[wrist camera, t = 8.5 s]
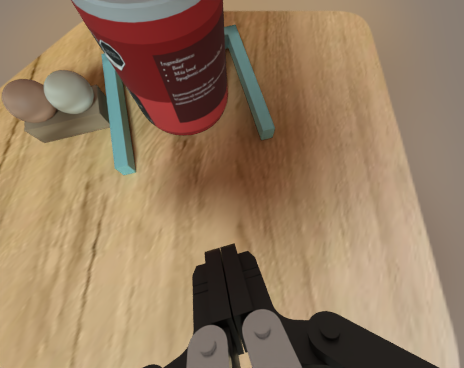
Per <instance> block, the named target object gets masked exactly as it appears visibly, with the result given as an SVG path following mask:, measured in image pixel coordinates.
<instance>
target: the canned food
mask: <svg viewBox="0 0 464 368" xmlns="http://www.w3.org/2000/svg"><path fill="white" fill-rule="evenodd" d="M71 1H72V3H73V5H74V6H75V8H76V9H77V11H78V12H79V14H80V16H81V17H82V19H83V21H84V22H85V24H86V26H87V27H88V29H89V30H90V32H91V33H92V35H93V36H94V38H95V40H96V41H97V43H98V44H99V46H100V47H101V49H102V50H103V52H104V53H105V55H106V57H107V58H108V60H109V61H110V63H111V64H112V66H113V67H114V69H115V70H116V72H117V74H118V75H119V77H120V78H121V80H122V81H123V83H124V84H125V86H126V87H127V89H128V91H129V92H130V94H131V95H132V97H133V98H134V100H135V101H136V103H137V104H138V106H139V108H140V109H141V111H142V112H143V114H144V115H145V117H146V118H147V119H148V120H149V121H150V122H151V123H152V124H154V125H155V126H156V127H158V128H159V129H161V130H163V131H165V132H167V133H171V134H175V135H193V134H197V133H200V132H203V131H205V130H207V129H208V128H210V127H211V126H213V125H214V124H215V123H216V122H217V121H218V120H219V119H220V117H221V115H222V114H223V111H224V109H225V106H226V103H227V97H228V93H227V73H226V54H225V34H224V14H223V0H71Z"/></svg>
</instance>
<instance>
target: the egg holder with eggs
mask: <svg viewBox="0 0 464 368" xmlns="http://www.w3.org/2000/svg"><path fill="white" fill-rule="evenodd" d="M2 101H3V104H4V106H5V107H6V109H7V110H8V111H9V112H10V113H11V114H12V115H13V116H15V117H16V118H18V119H20V120H22V121H25V132H27V133H29V134H30V135H32V136H34V137H35V138H37V139H39V140H40V141H42V142H44V143H47V142H51V141H55V140H59V139H63V138H67V137H72V136H76V135H80V134H84V133H88V132H92V131H96V130H101V129H105V128H109V127H110V122H109V114H108V105H107V97H106V96H105V95H104V93H103V92H102V91H101V90H100V88H99V87H98V86H97V85H93V86H90V84H89V83H88V82H87V80H86V79H85V78H83V77H82V76H81V75H79V74H77V73H75V72H72V71H68V70H59V71H55V72H53V73H51V74H50V75H49V76H48V77H47V78H46V80H45V82H44V85H42V84H40V83H38V82H36V81H33V80H28V79H19V80H14V81H12V82H10V83H8V84H7V85H6V86H5V88H4V89H3V92H2Z"/></svg>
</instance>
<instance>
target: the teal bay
mask: <svg viewBox="0 0 464 368" xmlns="http://www.w3.org/2000/svg"><path fill="white" fill-rule="evenodd" d="M224 34H225V49H226V48H229V51H230V53H231V56H232V59H233V62H234V65H235V67H236V70H237V73H238V76H239V79H240V82H241V84H242V87H243V90H244V93H245V96H246V98H247V101H248V104H249V107H250V110H251V112H252V115H253V118H254V121H255V124H256V127H257V129H258V132H259V135H260V138H261V140H264V139H268V138H272V137H273V133H274V130H275V127H274V124H273V121H272V119H271V116H270V114H269V111H268V108H267V106H266V103H265V101H264V98H263V95H262V93H261V90H260V88H259V85H258V82H257V80H256V77H255V75H254V72H253V69H252V67H251V64H250V62H249V59H248V56H247V54H246V51H245V49H244V46H243V43H242V41H241V38H240V36H239V33H238V30H237V28H236V25H232V26H227V27H224ZM102 62H103V71H104V79H105V88H106V96H107V105H108V114H109V122H110V131H111V139H112V148H113V156H114V165H115V169H116V170H118V171H119V172H120V173H122V174H123V175H127V174H131V173H135V172H136V170H135V163H134V156H133V149H132V143H131V136H130V129H129V122H128V116H127V109H126V102H125V95H124V89H123V82H122V80H121V78H120V77H119V75H118V74H117V72H116V70H115V69H114V67H113V66H112V64H111V63H110V61H109V60H108V58H107V57H106V55H105V53H104V54H102Z"/></svg>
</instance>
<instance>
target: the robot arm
mask: <svg viewBox="0 0 464 368" xmlns="http://www.w3.org/2000/svg"><path fill="white" fill-rule="evenodd" d="M220 249H221V251H220ZM205 262H206V263H205V264H202V265H198V266H196V268H195V271H194V273H193V276H192V280H193V323H194V331H193V336H192V338H191V340H190V342H189V345H188V347H187V349H186V350H185V351H184V352H183V353H182V354H181V355H180V356H179V357H178V358H176V359H175V360H174V361H172V362H171V363H169V364H168V365H167V366H165V367H164V368H241V367H240V362H239V356H238V355H241V354H244V351H243V347H244V349H245V352H248V355H249V358H250V361H251V365H252V368H439V367H437V366H435V365H433V364H431V363H429V362H427V361H425V360H423V359H421V358H420V357H418V356H416V355H414V354H412V353H410V352H408V351H406V350H404V349H402V348H401V347H399V346H397V345H395V344H393V343H391V342H389V341H387V340H385V339H383V338H382V337H380V336H378V335H376V334H374V333H372V332H370V331H368V330H366V329H364V328H363V327H361V326H359V325H357V324H355V323H353V322H351V321H349V320H347V319H345V318H344V317H342V316H340V315H338V314H336V313H333V312H328V311H322V312H318V313H316V314H314V315H313V316H312V317H311V318H310V320H292V319H288V318H286V317H284V316H282V315H280V314H279V313H278V312H277V311H276V310H275V308H274V307H273V304H272V302H271V299H270V296H269V294H268V291H267V288H266V286H265V283H264V280H263V278H262V275H261V272H260V270H259V267H258V264H257V261H256V259H255V257H254V256H253V255H252V254H251V253H250V252H249V251H246V252H242V253H239V254H237V250H236V247H235V243H234V244H230V245H227V246H224V247H220V248H217V249H213V250H210V251H207V252H205ZM242 344H243V346H242ZM143 368H162V367H161V366H159V365H155V364H153V365H148V366H145V367H143Z"/></svg>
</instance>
